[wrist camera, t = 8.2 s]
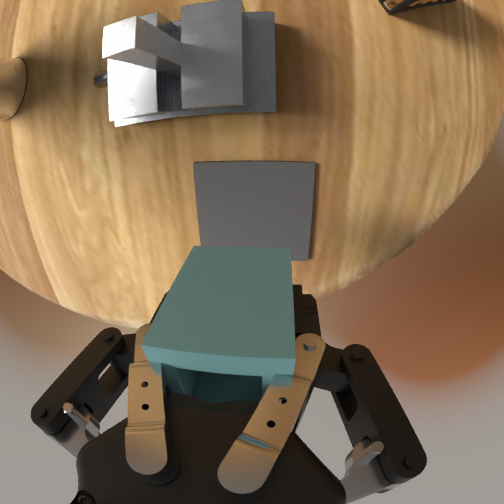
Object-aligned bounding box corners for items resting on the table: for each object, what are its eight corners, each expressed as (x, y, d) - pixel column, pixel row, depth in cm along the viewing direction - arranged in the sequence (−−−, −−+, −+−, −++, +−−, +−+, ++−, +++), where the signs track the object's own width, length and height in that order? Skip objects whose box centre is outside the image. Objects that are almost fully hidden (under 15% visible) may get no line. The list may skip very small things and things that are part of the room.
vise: (129, 124, 22) (27, 150, 11) (127, 43, 18) (30, 20, 6) (275, 112, 21) (278, 109, 10) (274, 22, 17) (272, -57, 5)
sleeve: (204, 316, 17) (174, 413, 10) (194, 245, 14) (140, 344, 8) (285, 320, 16) (284, 424, 10) (290, 248, 14) (295, 358, 8)
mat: (203, 255, 29) (202, 257, 28) (195, 162, 24) (193, 163, 24) (307, 257, 28) (307, 260, 28) (314, 162, 23) (315, 163, 23)
